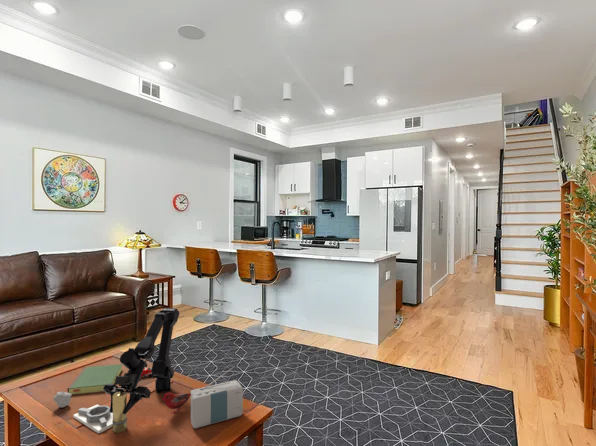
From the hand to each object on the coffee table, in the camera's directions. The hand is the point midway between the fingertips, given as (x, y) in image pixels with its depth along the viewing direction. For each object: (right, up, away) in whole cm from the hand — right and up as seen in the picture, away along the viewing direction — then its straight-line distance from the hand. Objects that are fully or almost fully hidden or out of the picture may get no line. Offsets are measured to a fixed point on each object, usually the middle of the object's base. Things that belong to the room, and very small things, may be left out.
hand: (117, 413), depth 141 cm
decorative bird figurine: (+20, -7, +16) cm, 26 cm away
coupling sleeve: (0, -7, +1) cm, 7 cm away
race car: (-11, -7, +48) cm, 50 cm away
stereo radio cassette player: (+37, -7, +9) cm, 39 cm away
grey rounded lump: (-33, -7, +17) cm, 38 cm away
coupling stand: (-12, -7, +8) cm, 16 cm away
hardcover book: (-32, -7, +42) cm, 53 cm away
